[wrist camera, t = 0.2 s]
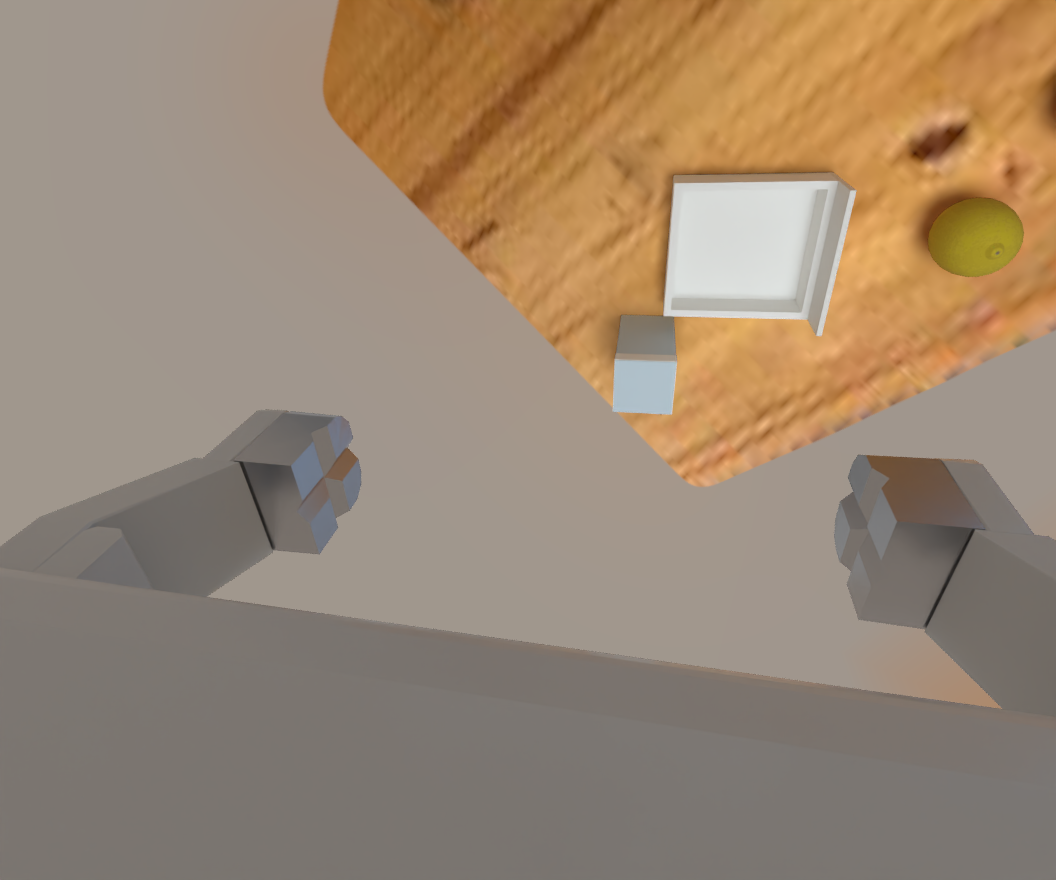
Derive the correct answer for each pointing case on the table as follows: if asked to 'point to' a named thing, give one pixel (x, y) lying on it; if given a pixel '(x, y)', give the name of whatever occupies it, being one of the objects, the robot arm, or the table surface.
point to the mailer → (756, 245)
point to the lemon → (975, 237)
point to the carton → (645, 365)
